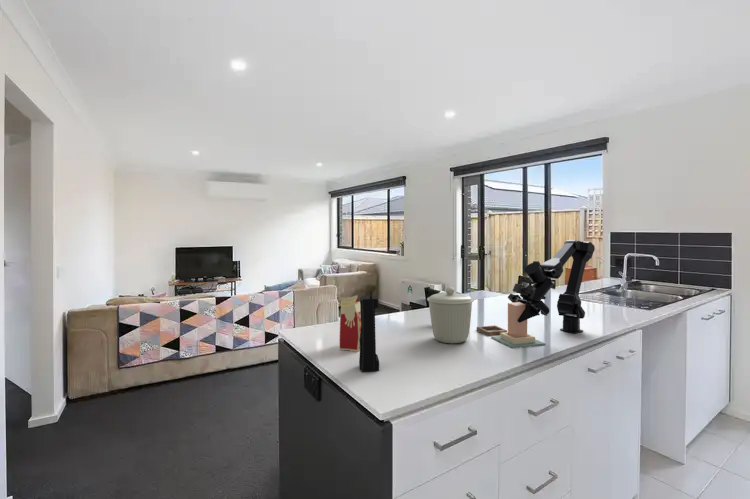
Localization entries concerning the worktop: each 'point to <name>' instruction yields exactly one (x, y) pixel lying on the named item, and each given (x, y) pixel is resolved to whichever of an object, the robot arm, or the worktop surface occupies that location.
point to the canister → (450, 316)
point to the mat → (517, 340)
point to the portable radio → (368, 334)
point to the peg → (516, 320)
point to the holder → (489, 333)
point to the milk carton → (350, 324)
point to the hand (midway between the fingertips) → (514, 320)
